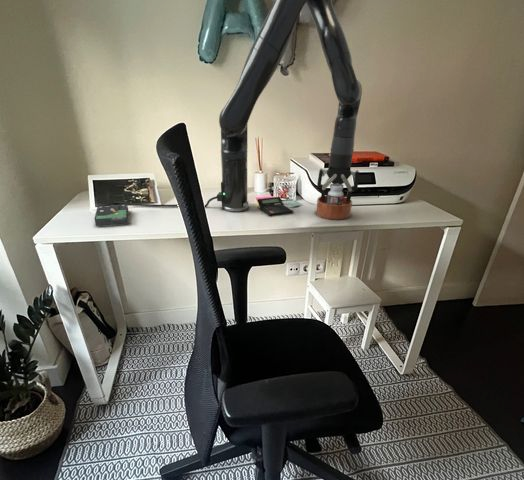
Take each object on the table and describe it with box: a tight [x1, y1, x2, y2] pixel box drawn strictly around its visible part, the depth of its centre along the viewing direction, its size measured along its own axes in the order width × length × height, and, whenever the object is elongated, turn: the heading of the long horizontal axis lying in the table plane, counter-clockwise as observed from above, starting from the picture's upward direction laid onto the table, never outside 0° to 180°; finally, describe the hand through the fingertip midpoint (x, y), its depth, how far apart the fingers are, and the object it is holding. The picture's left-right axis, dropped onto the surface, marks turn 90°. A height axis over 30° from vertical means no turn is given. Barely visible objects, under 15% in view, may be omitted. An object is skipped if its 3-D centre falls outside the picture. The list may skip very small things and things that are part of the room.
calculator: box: [257, 196, 294, 217], centre depth 138 cm, size 9×12×3 cm
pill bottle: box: [326, 183, 345, 205], centre depth 133 cm, size 6×6×10 cm
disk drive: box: [94, 204, 130, 227], centre depth 126 cm, size 10×3×15 cm
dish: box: [315, 195, 353, 221], centre depth 135 cm, size 13×13×5 cm
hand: (335, 201), depth 134 cm, fingers open, 8 cm apart
